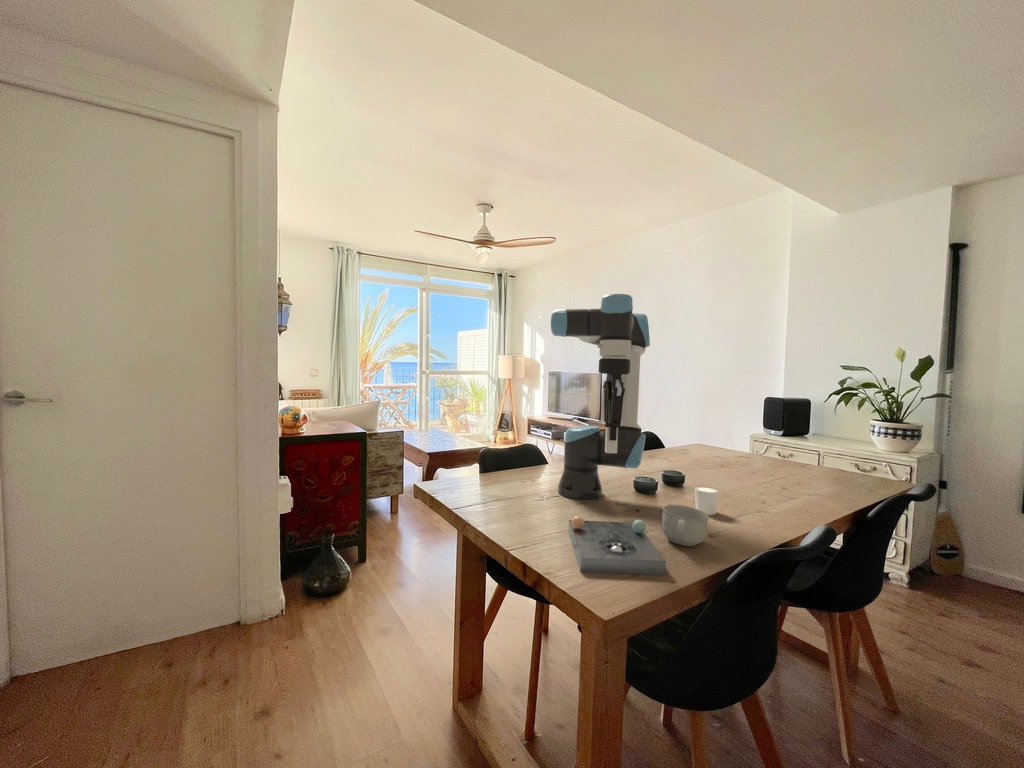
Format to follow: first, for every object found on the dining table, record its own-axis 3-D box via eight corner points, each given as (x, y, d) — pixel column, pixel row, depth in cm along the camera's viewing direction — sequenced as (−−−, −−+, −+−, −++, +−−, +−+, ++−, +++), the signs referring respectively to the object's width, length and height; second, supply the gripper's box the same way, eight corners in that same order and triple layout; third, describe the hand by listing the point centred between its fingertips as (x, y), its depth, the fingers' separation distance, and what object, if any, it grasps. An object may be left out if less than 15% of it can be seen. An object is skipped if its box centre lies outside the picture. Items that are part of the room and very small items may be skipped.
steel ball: (609, 542, 95) (611, 555, 93) (623, 543, 95) (625, 556, 93) (607, 549, 97) (609, 563, 95) (620, 550, 97) (623, 563, 95)
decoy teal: (630, 530, 105) (631, 517, 105) (643, 530, 105) (643, 518, 105) (634, 535, 102) (634, 522, 102) (647, 535, 102) (647, 522, 102)
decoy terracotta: (570, 526, 107) (570, 513, 106) (583, 526, 106) (583, 514, 106) (572, 531, 103) (572, 518, 103) (585, 531, 103) (585, 518, 103)
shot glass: (689, 510, 130) (690, 488, 130) (699, 506, 135) (700, 485, 135) (712, 517, 125) (713, 494, 125) (721, 512, 130) (722, 490, 130)
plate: (568, 531, 111) (568, 520, 111) (636, 533, 111) (637, 522, 111) (580, 571, 89) (580, 557, 89) (665, 574, 89) (666, 560, 89)
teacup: (669, 529, 114) (670, 500, 114) (712, 541, 108) (713, 510, 107) (650, 545, 104) (651, 513, 103) (696, 559, 97) (698, 525, 96)
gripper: (594, 357, 110) (591, 446, 111) (604, 357, 97) (601, 458, 98) (623, 358, 110) (619, 447, 111) (637, 358, 97) (633, 459, 98)
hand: (610, 452), depth 105 cm, fingers closed
